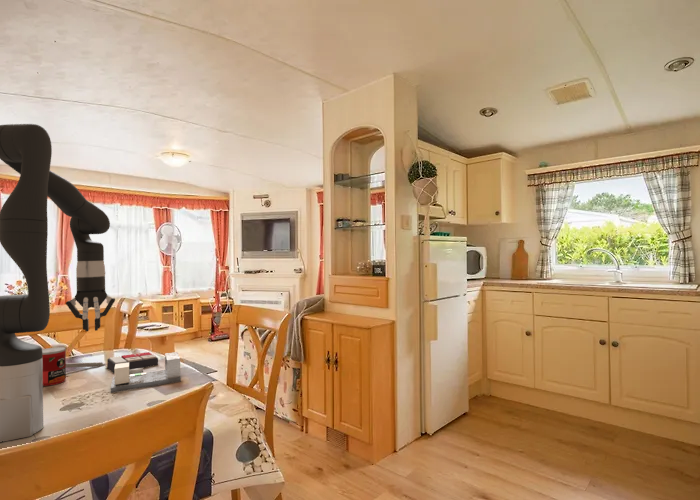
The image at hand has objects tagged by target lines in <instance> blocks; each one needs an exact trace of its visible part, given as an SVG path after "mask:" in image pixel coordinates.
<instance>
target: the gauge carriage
mask: <svg viewBox="0 0 700 500" xmlns="http://www.w3.org/2000/svg"><path fill="white" fill-rule="evenodd" d="M138 373H144V368H137V369H130V370H129V362H128V363H120V364H115V368H114V373H113V374H114V377H115V385H116V384H122V383H129V375H132V374H138Z"/></svg>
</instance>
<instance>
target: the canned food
mask: <svg viewBox="0 0 700 500" xmlns="http://www.w3.org/2000/svg"><path fill="white" fill-rule="evenodd" d="M66 352H67V351H66V347H63V346H62V347H61V346H59V347H58V346H57V347H47V348H42V361H43V387H48V386H53V385H59V384H61V383H64V382H65V381H66V378H67V370H66V369H67V368H66V363H67V360H66V359H67V357H66V356H67V353H66Z"/></svg>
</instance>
